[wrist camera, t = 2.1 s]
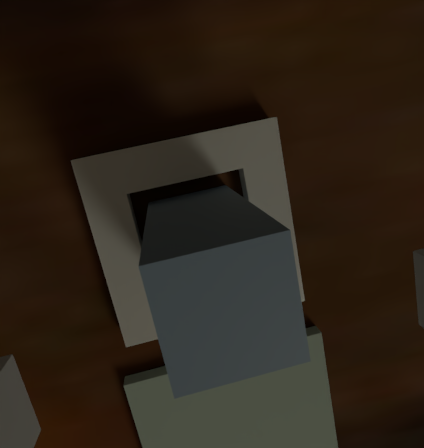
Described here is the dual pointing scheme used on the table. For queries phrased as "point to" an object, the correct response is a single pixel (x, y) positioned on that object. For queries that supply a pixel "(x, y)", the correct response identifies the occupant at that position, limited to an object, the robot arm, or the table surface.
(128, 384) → the pad
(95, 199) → the pocket collar
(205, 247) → the slate block
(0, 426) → the robot arm
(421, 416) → the table surface
